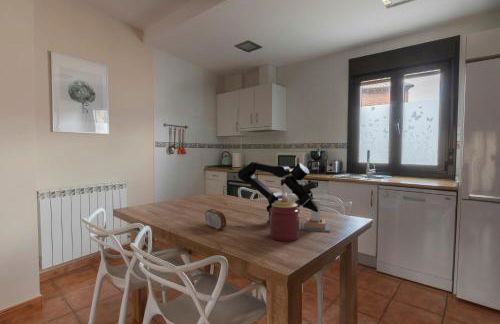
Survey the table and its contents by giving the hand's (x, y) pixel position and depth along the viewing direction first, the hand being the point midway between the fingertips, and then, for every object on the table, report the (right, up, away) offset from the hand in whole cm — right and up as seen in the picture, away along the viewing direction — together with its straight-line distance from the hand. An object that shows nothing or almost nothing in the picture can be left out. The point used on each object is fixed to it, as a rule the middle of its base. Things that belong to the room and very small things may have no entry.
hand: (317, 209), depth 128 cm
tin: (-50, -9, 0) cm, 51 cm away
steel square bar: (-1, -8, +1) cm, 8 cm away
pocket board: (-1, -9, +1) cm, 9 cm away
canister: (-18, -10, -14) cm, 25 cm away
